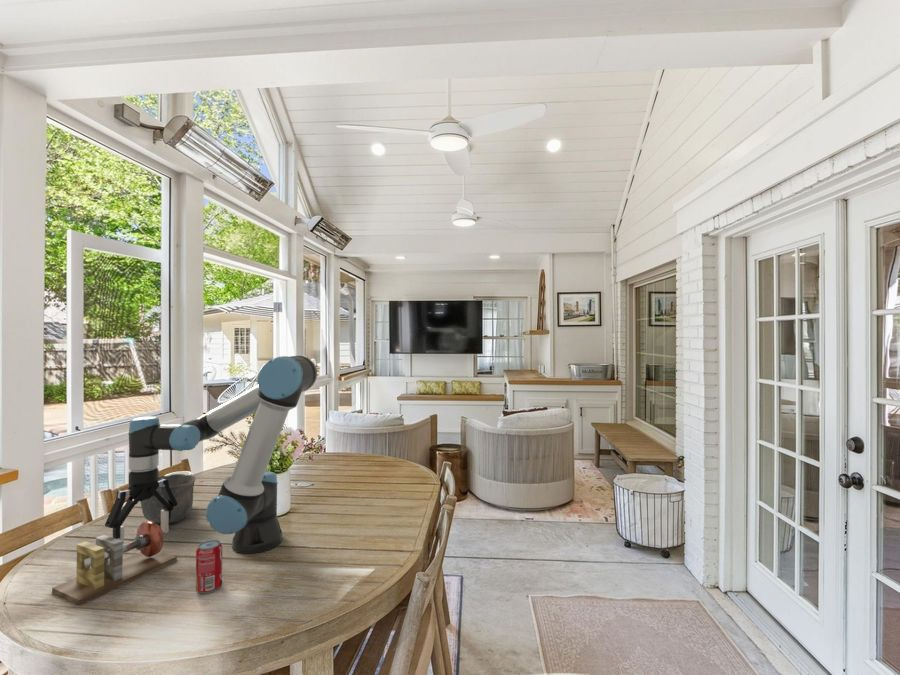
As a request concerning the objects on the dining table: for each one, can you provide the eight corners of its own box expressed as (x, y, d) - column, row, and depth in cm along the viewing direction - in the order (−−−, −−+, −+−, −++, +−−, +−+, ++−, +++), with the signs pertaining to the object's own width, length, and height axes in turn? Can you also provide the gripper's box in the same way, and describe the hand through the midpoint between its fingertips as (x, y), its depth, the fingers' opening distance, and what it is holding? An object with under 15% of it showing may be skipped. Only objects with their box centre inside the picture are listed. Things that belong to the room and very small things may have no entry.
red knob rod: (163, 557, 133) (163, 523, 133) (96, 586, 117) (96, 548, 117) (142, 550, 137) (142, 518, 137) (75, 577, 121) (75, 541, 121)
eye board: (176, 560, 135) (176, 523, 135) (79, 604, 112) (79, 560, 112) (149, 551, 141) (150, 516, 141) (52, 592, 118) (52, 549, 118)
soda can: (194, 597, 116) (194, 550, 116) (197, 585, 122) (197, 540, 122) (221, 591, 118) (221, 546, 119) (222, 580, 124) (223, 536, 124)
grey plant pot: (151, 536, 152) (151, 492, 152) (127, 524, 161) (127, 483, 161) (203, 518, 167) (204, 478, 167) (179, 509, 176) (179, 471, 176)
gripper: (175, 457, 148) (174, 522, 148) (90, 478, 126) (89, 554, 126) (190, 460, 145) (189, 526, 145) (105, 481, 123) (105, 560, 123)
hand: (143, 539), depth 136 cm, fingers open, 12 cm apart
